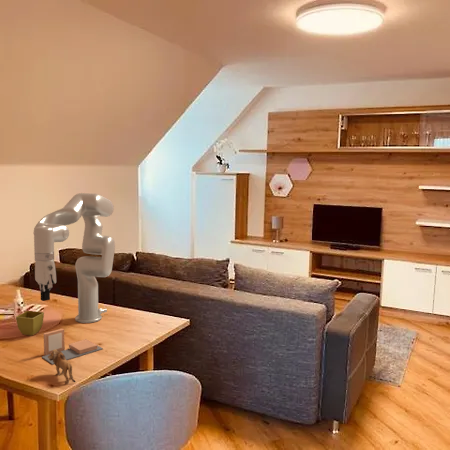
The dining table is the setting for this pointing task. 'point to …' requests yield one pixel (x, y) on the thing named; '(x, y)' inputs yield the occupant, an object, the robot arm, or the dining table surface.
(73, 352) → the felt mat
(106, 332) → the dining table surface
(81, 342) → the tile
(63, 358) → the lion figurine
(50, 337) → the tile
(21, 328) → the flower pot
